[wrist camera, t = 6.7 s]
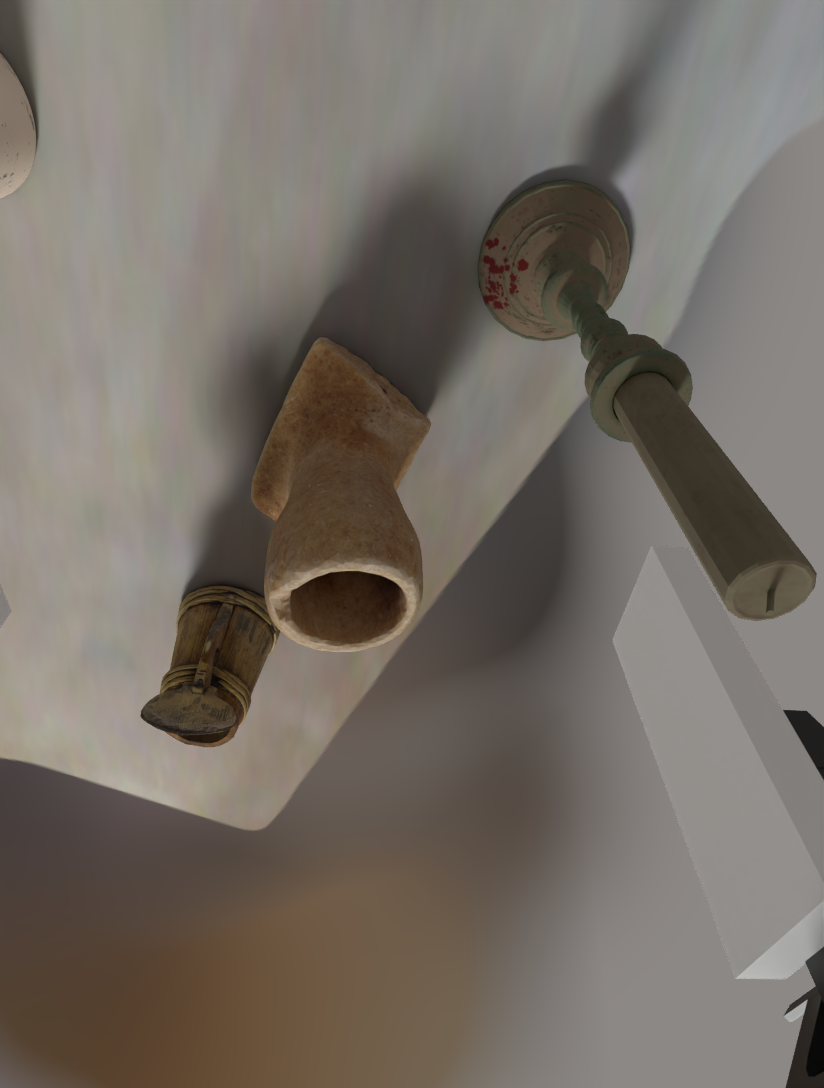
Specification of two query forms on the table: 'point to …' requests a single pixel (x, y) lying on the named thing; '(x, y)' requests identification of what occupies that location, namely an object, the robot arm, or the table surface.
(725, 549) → the candlestick holder
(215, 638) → the wooden mug
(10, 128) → the teacup with lid
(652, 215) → the table surface
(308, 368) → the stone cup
